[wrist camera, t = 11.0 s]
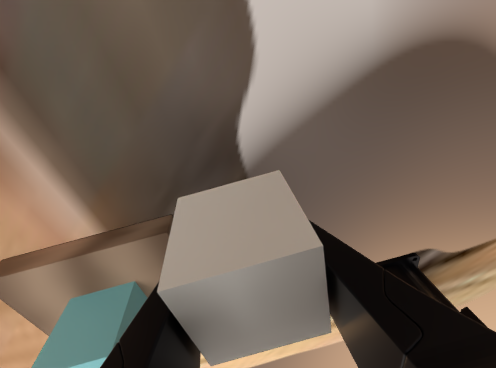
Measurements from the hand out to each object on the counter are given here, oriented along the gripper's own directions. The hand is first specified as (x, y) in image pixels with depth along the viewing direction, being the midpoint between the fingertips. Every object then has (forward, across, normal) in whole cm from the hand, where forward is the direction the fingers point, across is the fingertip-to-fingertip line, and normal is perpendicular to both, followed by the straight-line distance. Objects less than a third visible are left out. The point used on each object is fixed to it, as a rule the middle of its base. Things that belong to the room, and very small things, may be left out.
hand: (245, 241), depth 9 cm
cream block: (+1, 0, 0) cm, 1 cm away
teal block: (+6, +12, +9) cm, 16 cm away
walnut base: (+8, +12, +9) cm, 17 cm away
